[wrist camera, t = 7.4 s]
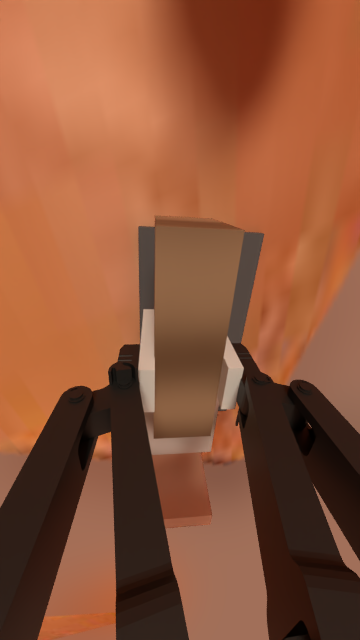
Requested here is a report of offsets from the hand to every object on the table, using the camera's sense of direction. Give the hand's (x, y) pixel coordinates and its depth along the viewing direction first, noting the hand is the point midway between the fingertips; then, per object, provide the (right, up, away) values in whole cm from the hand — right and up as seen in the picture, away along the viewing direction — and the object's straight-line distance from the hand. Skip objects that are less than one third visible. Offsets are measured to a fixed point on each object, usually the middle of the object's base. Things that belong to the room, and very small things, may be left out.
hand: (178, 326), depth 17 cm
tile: (-2, -13, +12) cm, 18 cm away
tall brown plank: (0, -2, +2) cm, 3 cm away
